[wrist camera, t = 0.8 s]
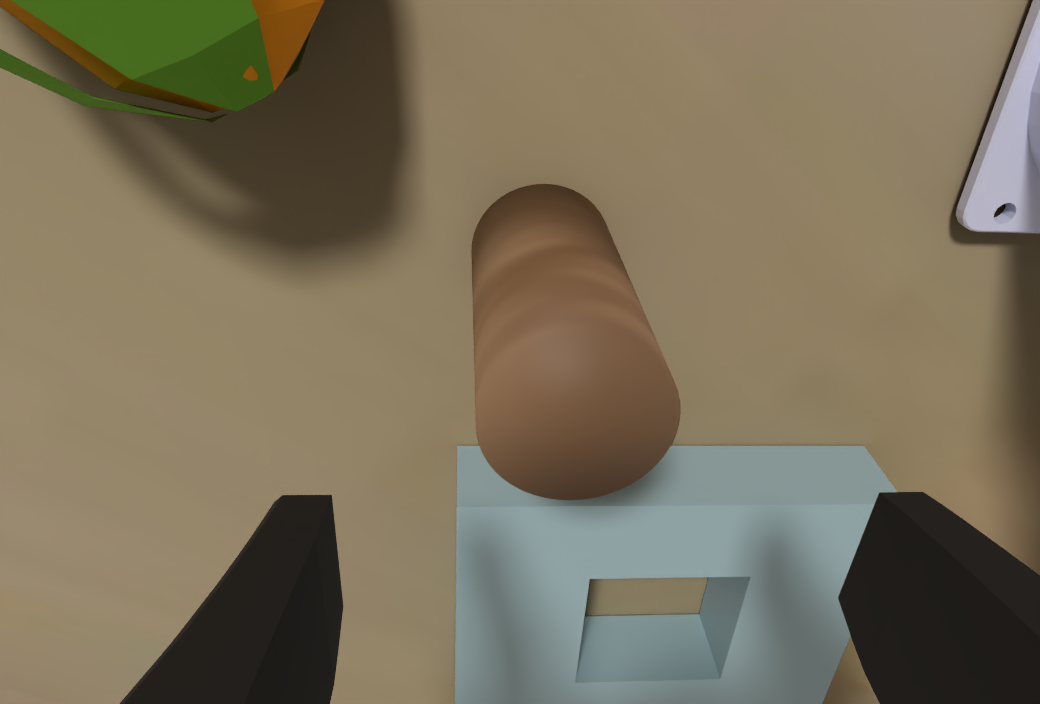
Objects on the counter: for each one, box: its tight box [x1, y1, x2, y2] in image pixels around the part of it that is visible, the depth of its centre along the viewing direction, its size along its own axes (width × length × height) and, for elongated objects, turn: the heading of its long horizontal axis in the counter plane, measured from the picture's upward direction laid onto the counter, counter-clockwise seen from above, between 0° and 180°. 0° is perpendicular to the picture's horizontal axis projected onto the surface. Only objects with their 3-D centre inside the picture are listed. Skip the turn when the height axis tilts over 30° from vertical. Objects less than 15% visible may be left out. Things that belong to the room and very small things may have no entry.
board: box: [455, 446, 897, 704], centre depth 23 cm, size 12×10×2 cm
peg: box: [472, 184, 680, 500], centre depth 15 cm, size 3×3×7 cm
